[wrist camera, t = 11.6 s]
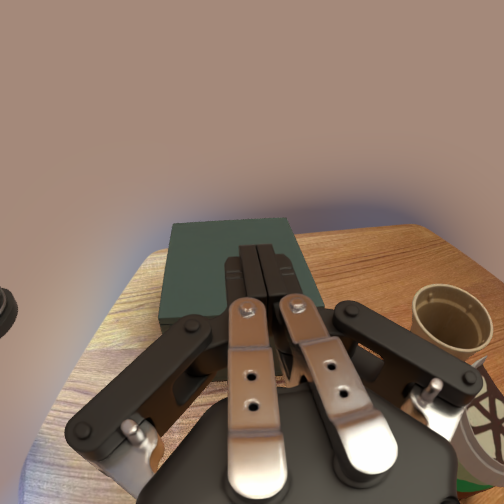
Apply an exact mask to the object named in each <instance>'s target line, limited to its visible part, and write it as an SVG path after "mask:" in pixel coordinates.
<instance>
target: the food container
mask: <svg viewBox="0 0 504 504" xmlns="http://www.w3.org/2000/svg"><path fill="white" fill-rule="evenodd" d="M486 358H487V356H485V357H483V358H481V359H479V360H478V361H476V362H475V363H474V364H473V365H471V366H473V367H474V368H476V369H477V370H478V371H479V372H480V374H481V376H482V378H483V388H482V390H481V391H480V392H479V393H478V394H477V396H476V397H475V398H474V399H473V400H472V402H471V403H470V404H469V406H468V407H467V408H466V409H465V410H464V412H463V414H462V417H461V419H460V421H459V424H458V426H457V428H456V430H455V432H454V434H453V437H452V439H451V441H450V443H451V444H452V446H453V447H454V449H455V451H456V454H457V458H458V471H457V483H456V484H457V497H458V500H459V499H463V498H466V497H469V496H472V495H475V494H478V493H480V492H483V491H486V490H488V489H491V488H493V487H495V486H498V487H504V396H503V395H502V394H501V392H500V391H499V389H498V388H497V387H496V385H495V384H494V382H493V381H492V379H491V377H490V376H489V374H488V373H487V371H486V369H485V368H484V366H483V363H484V361H485V359H486Z"/></svg>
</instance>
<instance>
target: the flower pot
mask: <svg viewBox="0 0 504 504" xmlns="http://www.w3.org/2000/svg"><path fill="white" fill-rule="evenodd" d="M412 313H413V314H412V326H411V330H410V332H412V333H414V334H416V335H418V336H419V337H421V338H423V339H425V340H426V341H428V342H430V343H432V344H434V345H435V346H437V347H439V348H441V349H442V350H444V351H446V352H448V353H450V354H451V355H453V356H455V357H457V358H458V359H460V360H462V361H464V362H465V361H466V360H467V359H468V358H469V357H470V356H472V355H474V354H475V353H476V352H478V351H480V350H482V349H483V348H485V347H486V346H487V345H488V343H489V342H490V340H491V338H492V335H493V324H492V320H491V317H490V315H489V313H488V312H487V310H486V308H485V307H484V306H483V305H482V303H481V302H480V301H479V300H478V299H476V298H475V297H474V296H473V295H471V294H470V293H468V292H466V291H464V290H462V289H460V288H458V287H455V286H452V285H446V284H432V285H428V286H425V287H423V288H421V289H420V290H419V291H418V292H417V293H416V294H415V296H414V298H413V302H412Z"/></svg>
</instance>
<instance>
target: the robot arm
mask: <svg viewBox="0 0 504 504" xmlns="http://www.w3.org/2000/svg"><path fill="white" fill-rule="evenodd" d="M224 270H225V289H226V300H227V308H226V309H225V311H224V312H223V313H221V314H220V315H218V316H216V317H214V318H211V319H207V318H206V317H204V316H202V315H199V314H189V315H186V316H183V317H181V318H180V319H179V320H177V321H176V322H175V323H174V324H173V325H172V326H171V327H170V328H169V329H168V330H167V331H165V332H164V333H163V334H162V335H161V336H160V337H159V338H158V339H157V340H156V341H155V342H154V343H152V344H151V345H150V346H149V347H148V348H147V349H146V350H145V351H144V352H143V353H142V354H140V355H139V356H138V357H137V358H136V359H135V360H134V361H133V362H132V363H131V364H130V365H129V366H127V367H126V368H125V369H124V370H123V371H122V372H121V373H120V374H119V375H118V376H117V377H115V378H114V379H113V380H112V381H111V382H110V383H109V384H108V385H107V386H106V387H105V388H104V389H102V390H101V391H100V392H99V393H98V394H97V395H96V396H95V397H94V398H93V399H92V400H90V401H89V402H88V403H87V404H86V405H85V406H84V407H83V408H82V409H81V410H80V411H78V412H77V413H76V414H75V415H74V416H73V417H72V418H71V419H70V420H69V421H68V423H67V424H66V427H65V432H64V433H65V439H66V441H67V443H68V445H69V446H70V447H71V448H73V449H74V450H75V451H76V452H77V453H78V454H80V455H81V456H82V457H83V458H84V459H85V460H87V461H88V462H89V463H90V464H92V465H93V466H94V467H95V468H97V469H98V470H99V471H101V472H102V473H103V474H105V475H106V476H108V477H111V478H112V479H113V480H114V481H115V482H116V483H117V484H119V485H120V486H121V487H122V488H123V489H124V490H126V491H127V492H128V493H129V494H130V495H132V496H133V497H134V498H135V499H137V501H136V504H460V503H459V500H458V497H457V484H456V483H457V471H458V458H457V454H456V451H455V449H454V447H453V446H452V444H451V443H450V441H451V439H452V437H453V434H454V432H455V430H456V428H457V426H458V424H459V421H460V419H461V417H462V414H463V412H464V410H465V409H466V408H467V407H468V406H469V404H470V403H471V402H472V400H473V399H474V398H475V397H476V396H477V394H478V393H479V392H480V391H481V390H482V388H483V378H482V376H481V374H480V372H479V371H478V370H477V369H476V368H474V367H473V366H471V365H469V364H467V363H466V362H464V361H462V360H460V359H458V358H457V357H455V356H453V355H451V354H450V353H448V352H446V351H444V350H442V349H441V348H439V347H437V346H435V345H434V344H432V343H430V342H428V341H426V340H425V339H423V338H421V337H419V336H418V335H416V334H414V333H412V332H410V331H409V330H407V329H405V328H403V327H402V326H400V325H398V324H396V323H394V322H393V321H391V320H389V319H387V318H385V317H384V316H382V315H380V314H378V313H376V312H375V311H373V310H371V309H369V308H367V307H366V306H364V305H362V304H360V303H358V302H355V301H350V300H347V301H342V302H340V303H338V304H337V305H336V307H335V309H334V310H333V309H325V308H320V307H316V306H315V304H314V302H313V301H312V300H311V299H310V298H309V297H307V296H305V295H303V292H302V289H301V286H300V284H299V281H298V278H297V276H296V273H295V270H294V269H293V265H292V262H291V260H290V259H289V258H288V257H287V256H286V255H285V254H275V252H274V248H273V245H272V244H256V245H255V244H252V245H239V256H234V257H228V258H227V260H226V262H225V263H224ZM6 307H7V298H6V296H5V294H4V292H3V291H2V289H1V287H0V318H1V316H2V315H3V313H4V312H5V310H6ZM271 336H273V339H274V343H275V352H276V355H277V358H278V361H279V364H280V367H281V371H282V374H283V377H284V380H285V383H286V387H287V388H286V387H276V379H275V370H274V361H273V353H272V347H271V346H270V345H269V337H271ZM358 343H360V344H362V345H363V346H365V347H367V348H368V349H370V350H372V351H373V352H375V353H377V354H379V355H380V356H381V357H382V358H383V360H384V361H383V360H381V359H380V358H378V357H376V356H375V355H373V354H371V353H370V352H368V351H366V350H365V349H363V348H361V347H360V346H358ZM227 367H228V397H226V398H224V399H222V400H220V401H218V402H217V403H215V404H214V405H212V406H211V407H210V408H209V409H208V410H207V411H206V412H205V413H204V414H203V416H202V417H201V418H200V419H199V421H198V422H197V423H196V424H195V426H194V427H193V428H192V429H191V431H190V432H189V433H188V434H187V436H186V437H185V438H184V439H183V441H182V442H181V443H180V444H179V446H178V447H177V448H176V449H175V450H174V452H173V453H172V454H171V455H170V457H169V458H168V459H167V460H166V461H165V463H164V464H163V465H162V466H161V467H160V468H159V470H158V471H157V469H158V464H159V461H160V460H161V458H162V457H163V455H164V451H165V447H164V443H163V441H162V439H161V437H162V436H163V435H164V434H165V433H166V432H167V431H168V429H169V428H170V427H171V426H172V425H173V424H174V423H175V422H176V421H177V419H178V418H179V417H180V416H181V415H182V414H183V413H184V412H185V411H186V409H187V408H188V407H189V406H190V405H191V404H192V403H193V402H194V400H195V399H196V398H197V397H198V396H199V395H200V394H201V392H202V391H203V390H204V389H205V388H206V387H207V386H208V384H209V383H210V382H211V381H212V380H213V379H214V377H215V376H216V373H217V371H219V370H222V369H225V368H227Z"/></svg>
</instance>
